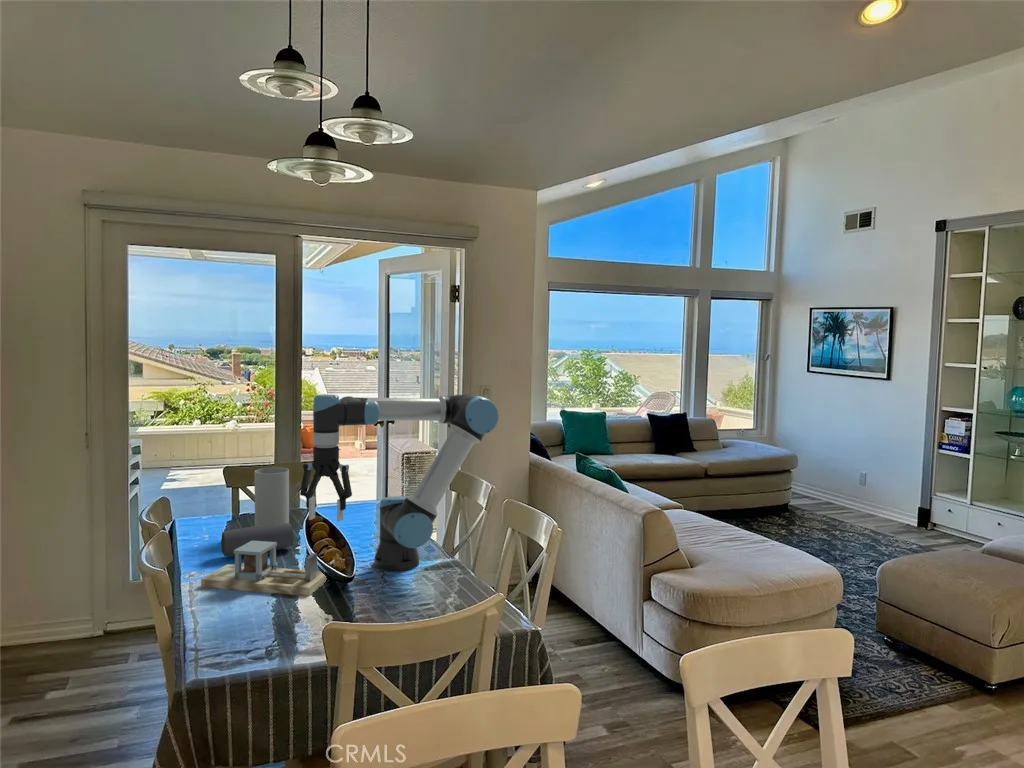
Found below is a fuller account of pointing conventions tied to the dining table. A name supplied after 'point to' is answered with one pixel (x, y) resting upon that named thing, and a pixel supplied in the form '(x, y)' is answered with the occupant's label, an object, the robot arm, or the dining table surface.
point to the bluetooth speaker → (257, 537)
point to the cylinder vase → (271, 496)
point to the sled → (308, 576)
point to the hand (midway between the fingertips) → (325, 519)
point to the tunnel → (258, 550)
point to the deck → (264, 582)
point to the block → (254, 562)
